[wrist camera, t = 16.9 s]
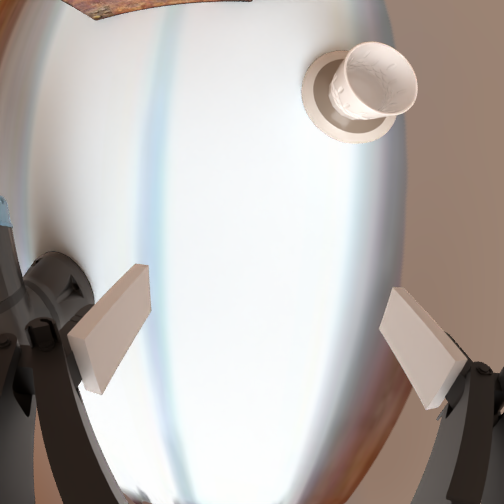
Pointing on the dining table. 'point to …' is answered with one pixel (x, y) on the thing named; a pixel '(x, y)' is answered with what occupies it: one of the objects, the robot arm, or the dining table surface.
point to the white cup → (373, 83)
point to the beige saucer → (327, 115)
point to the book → (125, 6)
